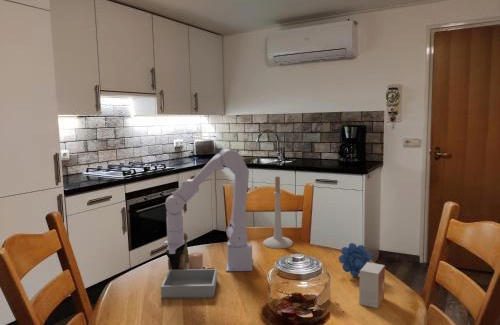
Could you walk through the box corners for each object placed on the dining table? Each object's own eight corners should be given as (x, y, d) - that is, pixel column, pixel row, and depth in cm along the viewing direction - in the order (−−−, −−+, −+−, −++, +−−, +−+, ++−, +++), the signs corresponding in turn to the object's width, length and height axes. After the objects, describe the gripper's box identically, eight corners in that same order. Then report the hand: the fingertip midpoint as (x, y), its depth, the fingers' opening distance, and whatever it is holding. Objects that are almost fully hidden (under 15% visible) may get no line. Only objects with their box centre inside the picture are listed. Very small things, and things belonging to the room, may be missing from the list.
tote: (217, 280, 134) (216, 268, 134) (213, 297, 121) (213, 285, 121) (169, 280, 134) (169, 269, 134) (161, 298, 121) (160, 286, 121)
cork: (191, 257, 156) (190, 230, 154) (187, 263, 150) (186, 235, 148) (176, 257, 156) (175, 230, 155) (171, 263, 150) (170, 235, 149)
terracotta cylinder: (204, 270, 142) (203, 252, 142) (202, 276, 138) (201, 257, 137) (190, 271, 142) (190, 252, 142) (188, 276, 138) (188, 257, 137)
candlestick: (278, 237, 180) (277, 172, 176) (298, 243, 170) (298, 175, 167) (257, 243, 172) (256, 175, 168) (277, 250, 162) (277, 179, 158)
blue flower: (342, 282, 131) (342, 247, 129) (336, 274, 137) (337, 241, 136) (376, 281, 131) (377, 246, 130) (369, 273, 138) (370, 240, 136)
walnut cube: (185, 267, 142) (184, 254, 142) (182, 273, 137) (182, 259, 137) (171, 267, 142) (170, 254, 142) (168, 273, 137) (167, 259, 137)
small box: (377, 309, 113) (378, 274, 111) (358, 304, 116) (359, 270, 114) (384, 298, 119) (385, 264, 118) (366, 293, 122) (366, 261, 121)
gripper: (167, 223, 145) (169, 259, 147) (159, 236, 131) (161, 274, 133) (187, 223, 145) (188, 258, 147) (180, 235, 131) (182, 274, 133)
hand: (176, 266), depth 140 cm, fingers closed on walnut cube, 5 cm apart
